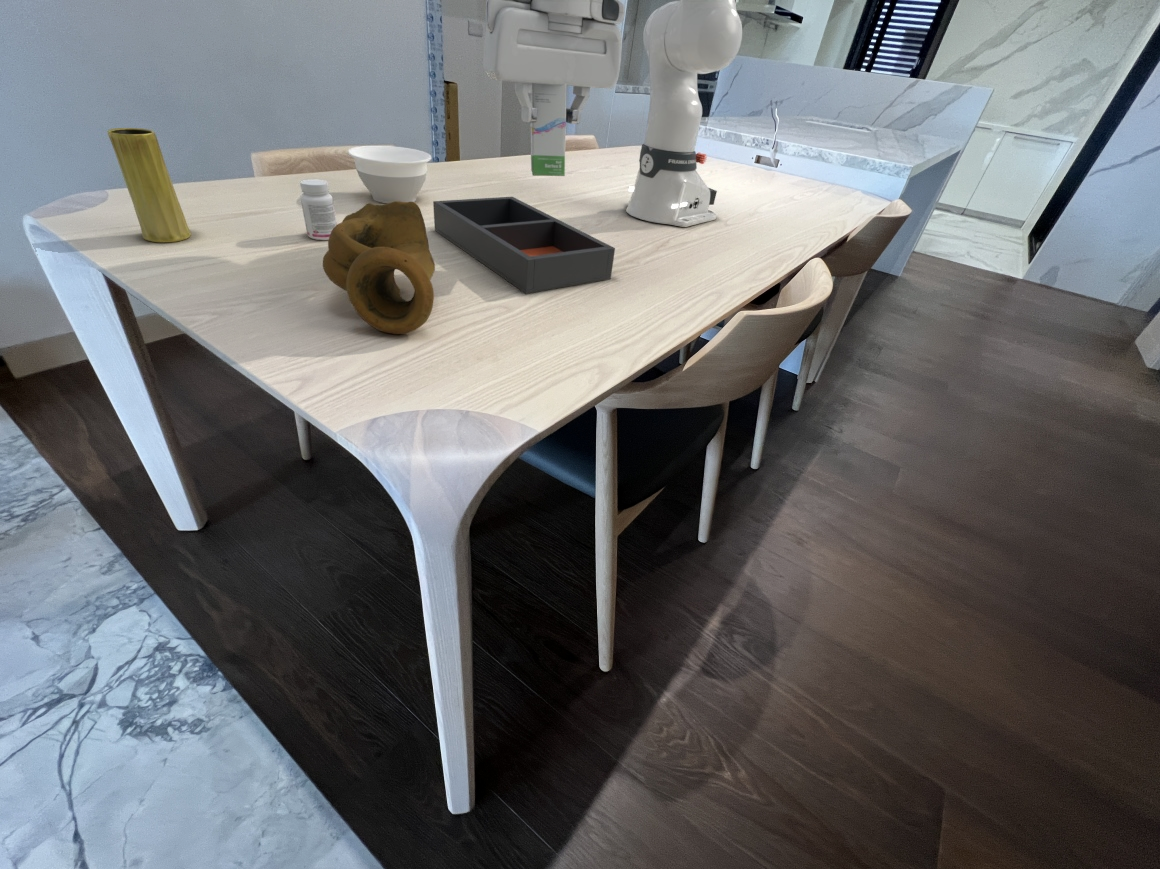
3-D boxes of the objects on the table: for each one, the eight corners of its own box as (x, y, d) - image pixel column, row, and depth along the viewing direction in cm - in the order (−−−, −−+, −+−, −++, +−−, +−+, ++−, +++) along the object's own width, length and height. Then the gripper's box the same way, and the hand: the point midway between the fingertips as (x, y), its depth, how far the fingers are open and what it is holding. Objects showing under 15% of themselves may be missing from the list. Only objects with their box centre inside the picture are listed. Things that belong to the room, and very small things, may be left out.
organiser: (511, 223, 106) (512, 196, 103) (610, 279, 87) (615, 248, 84) (434, 230, 98) (432, 201, 95) (526, 294, 79) (527, 259, 75)
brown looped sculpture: (480, 225, 78) (449, 247, 59) (452, 306, 84) (416, 350, 64) (355, 168, 74) (278, 171, 55) (334, 256, 80) (258, 287, 60)
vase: (197, 239, 82) (164, 134, 73) (150, 245, 78) (109, 135, 69) (183, 228, 85) (150, 126, 76) (137, 233, 81) (97, 127, 73)
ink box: (531, 172, 84) (528, 83, 78) (563, 172, 85) (563, 83, 79) (531, 176, 77) (528, 78, 71) (567, 176, 77) (567, 79, 71)
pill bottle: (345, 236, 90) (336, 182, 85) (323, 242, 86) (313, 187, 81) (323, 229, 91) (314, 176, 86) (301, 236, 88) (290, 181, 83)
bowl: (423, 212, 106) (420, 165, 101) (342, 203, 105) (334, 155, 100) (441, 194, 118) (439, 151, 113) (368, 185, 118) (363, 142, 112)
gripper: (499, -16, 60) (498, 125, 68) (634, 9, 71) (619, 127, 79) (473, -17, 63) (474, 116, 72) (605, 7, 74) (593, 120, 83)
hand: (551, 122), depth 75 cm, fingers closed on ink box, 6 cm apart
